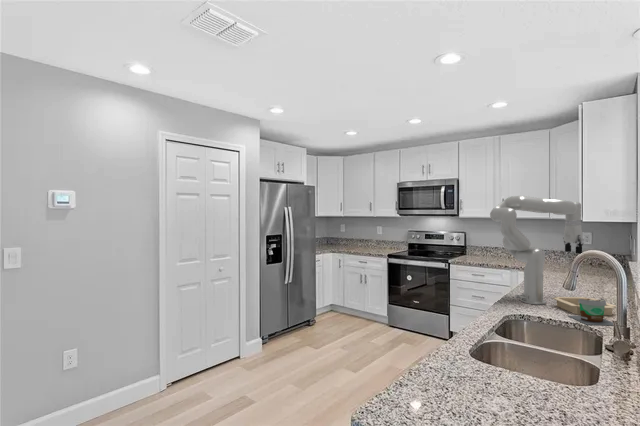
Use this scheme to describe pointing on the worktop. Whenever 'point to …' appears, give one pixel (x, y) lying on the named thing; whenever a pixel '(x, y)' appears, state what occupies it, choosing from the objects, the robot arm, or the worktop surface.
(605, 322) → the mat
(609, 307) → the tan square tray
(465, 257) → the worktop surface
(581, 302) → the food container
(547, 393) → the worktop surface
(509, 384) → the worktop surface
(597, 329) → the worktop surface
